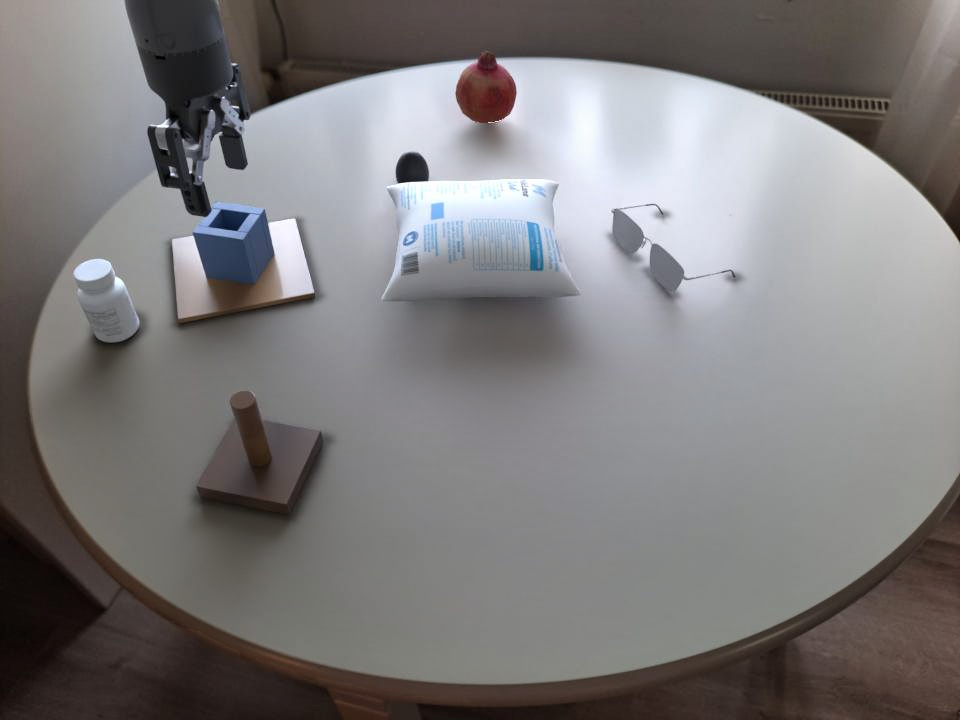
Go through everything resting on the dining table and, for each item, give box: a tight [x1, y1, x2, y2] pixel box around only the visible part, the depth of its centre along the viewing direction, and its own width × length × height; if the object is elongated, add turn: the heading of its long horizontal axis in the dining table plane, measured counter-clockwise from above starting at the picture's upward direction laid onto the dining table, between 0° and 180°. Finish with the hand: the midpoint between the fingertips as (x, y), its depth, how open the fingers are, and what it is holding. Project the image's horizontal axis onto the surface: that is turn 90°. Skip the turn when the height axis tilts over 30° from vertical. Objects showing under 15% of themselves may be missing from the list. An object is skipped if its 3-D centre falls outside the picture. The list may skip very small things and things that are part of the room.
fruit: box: [455, 50, 518, 125], centre depth 108 cm, size 8×8×10 cm
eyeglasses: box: [610, 203, 737, 292], centre depth 90 cm, size 14×8×4 cm, turn 27°
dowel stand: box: [195, 389, 324, 515], centre depth 67 cm, size 8×8×9 cm
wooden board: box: [171, 217, 316, 324], centre depth 88 cm, size 14×14×1 cm
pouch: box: [381, 178, 582, 303], centre depth 87 cm, size 8×19×20 cm
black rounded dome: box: [395, 149, 430, 184], centre depth 98 cm, size 4×4×5 cm
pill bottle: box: [73, 258, 140, 343], centre depth 79 cm, size 4×4×8 cm
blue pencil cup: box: [192, 201, 275, 285], centre depth 86 cm, size 6×6×6 cm
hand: (219, 190), depth 81 cm, fingers open, 8 cm apart
